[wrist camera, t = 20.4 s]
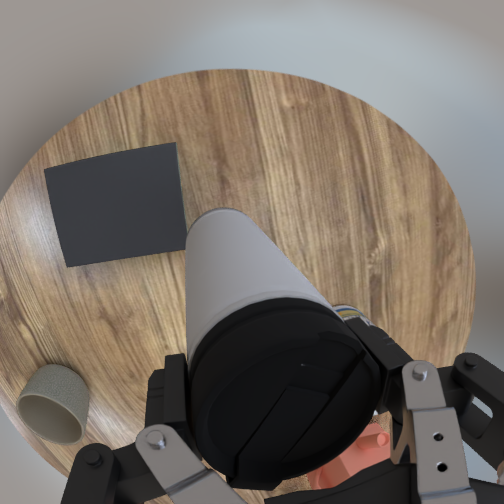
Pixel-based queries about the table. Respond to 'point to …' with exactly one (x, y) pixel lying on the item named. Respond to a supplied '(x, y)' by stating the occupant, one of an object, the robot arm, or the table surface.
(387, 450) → the teapot
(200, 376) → the travel mug
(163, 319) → the table surface
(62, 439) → the planter
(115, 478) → the robot arm
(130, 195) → the tablet screen
